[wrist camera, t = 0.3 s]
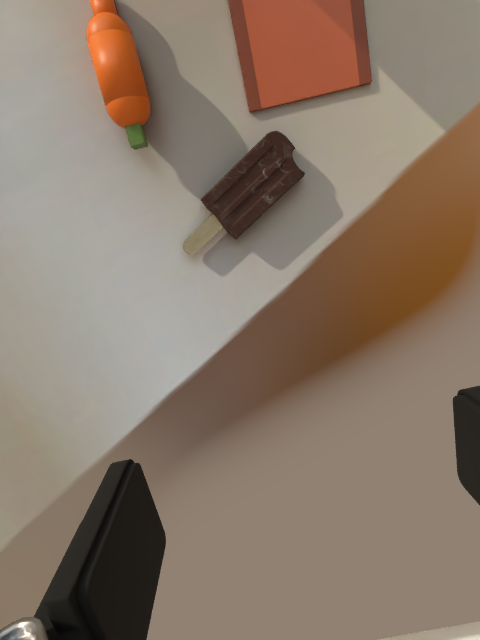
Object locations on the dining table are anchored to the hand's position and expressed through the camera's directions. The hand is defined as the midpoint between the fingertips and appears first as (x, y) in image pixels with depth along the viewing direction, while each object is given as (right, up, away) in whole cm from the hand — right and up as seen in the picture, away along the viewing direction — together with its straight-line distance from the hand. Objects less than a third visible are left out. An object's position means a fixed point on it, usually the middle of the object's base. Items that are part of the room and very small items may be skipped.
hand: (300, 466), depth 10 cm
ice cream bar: (-2, +17, +27) cm, 32 cm away
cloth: (+3, +33, +22) cm, 40 cm away
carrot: (-13, +27, +23) cm, 38 cm away
